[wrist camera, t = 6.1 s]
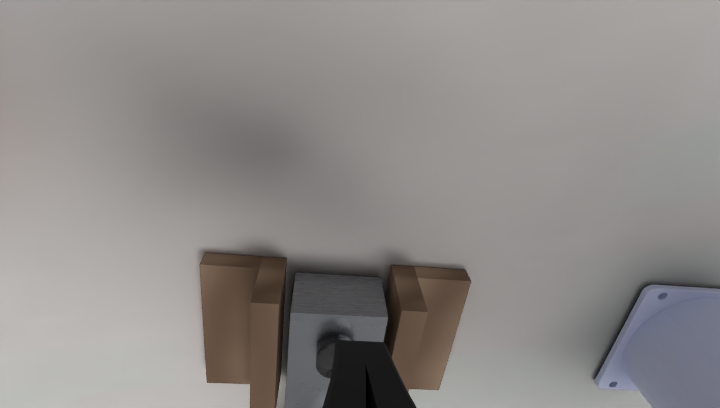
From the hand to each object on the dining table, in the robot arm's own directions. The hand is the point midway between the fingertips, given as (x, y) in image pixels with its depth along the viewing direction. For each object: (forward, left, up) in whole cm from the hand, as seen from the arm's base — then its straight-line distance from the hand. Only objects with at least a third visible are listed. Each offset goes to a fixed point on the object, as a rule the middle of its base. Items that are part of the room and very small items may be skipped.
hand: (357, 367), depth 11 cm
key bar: (0, +8, -9) cm, 12 cm away
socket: (0, +7, -9) cm, 12 cm away
